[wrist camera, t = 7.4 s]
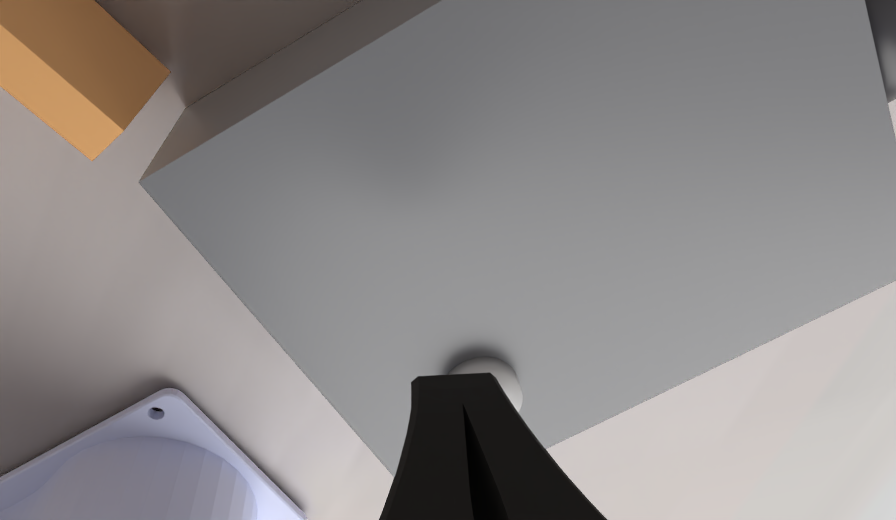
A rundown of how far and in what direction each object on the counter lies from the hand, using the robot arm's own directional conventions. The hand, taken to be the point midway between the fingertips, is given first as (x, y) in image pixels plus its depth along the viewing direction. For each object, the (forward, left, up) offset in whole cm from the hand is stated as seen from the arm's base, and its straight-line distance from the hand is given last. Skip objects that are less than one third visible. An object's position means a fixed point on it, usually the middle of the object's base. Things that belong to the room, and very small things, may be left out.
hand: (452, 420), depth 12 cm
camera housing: (+3, -1, -10) cm, 11 cm away
